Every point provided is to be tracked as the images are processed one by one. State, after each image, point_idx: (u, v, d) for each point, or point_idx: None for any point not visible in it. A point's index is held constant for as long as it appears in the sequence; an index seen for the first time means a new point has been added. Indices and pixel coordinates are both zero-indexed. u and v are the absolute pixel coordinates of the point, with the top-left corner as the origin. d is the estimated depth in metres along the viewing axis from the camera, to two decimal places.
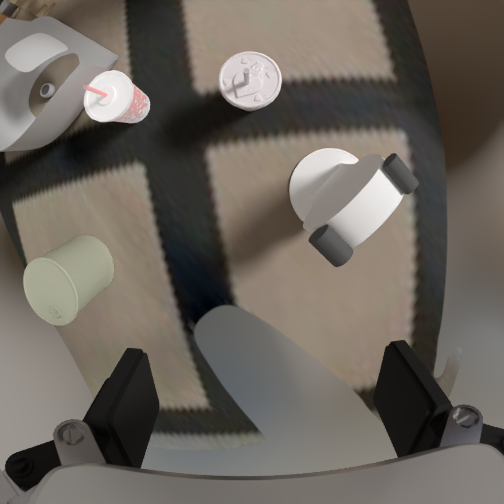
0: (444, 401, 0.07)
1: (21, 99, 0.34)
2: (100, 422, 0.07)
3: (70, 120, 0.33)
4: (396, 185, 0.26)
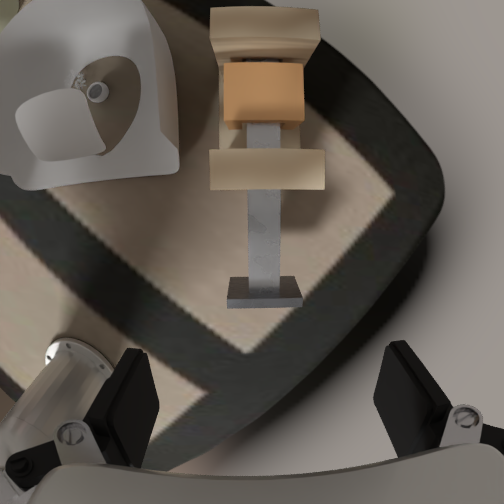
0: (444, 401, 0.07)
1: (144, 53, 0.27)
2: (100, 422, 0.07)
3: (21, 102, 0.24)
4: None
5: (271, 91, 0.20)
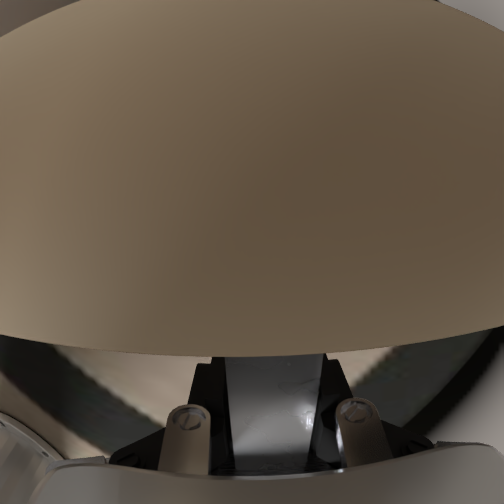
0: (333, 391, 0.08)
1: None
2: (218, 402, 0.08)
3: None
4: None
5: None
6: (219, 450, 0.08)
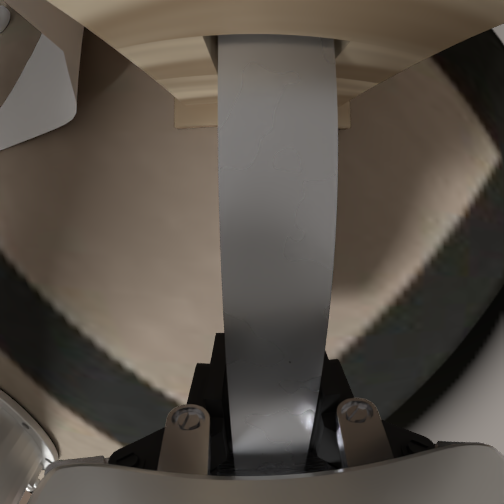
0: (333, 391, 0.08)
1: None
2: (217, 402, 0.08)
3: None
4: None
5: None
6: (218, 450, 0.08)
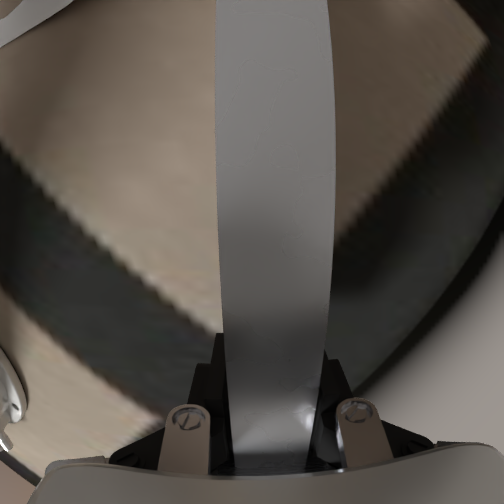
0: (333, 391, 0.08)
1: None
2: (217, 402, 0.08)
3: None
4: None
5: None
6: (219, 450, 0.08)
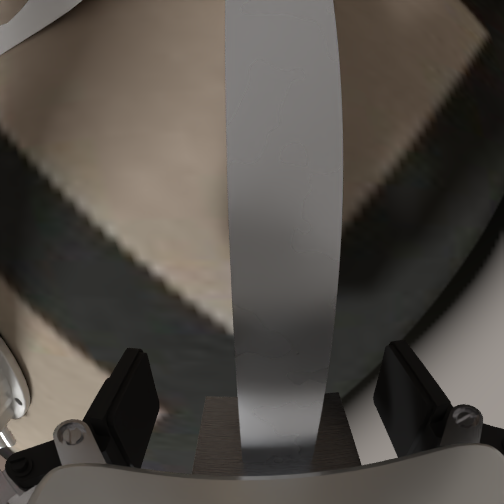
0: (444, 401, 0.07)
1: None
2: (100, 422, 0.07)
3: None
4: None
5: None
6: None
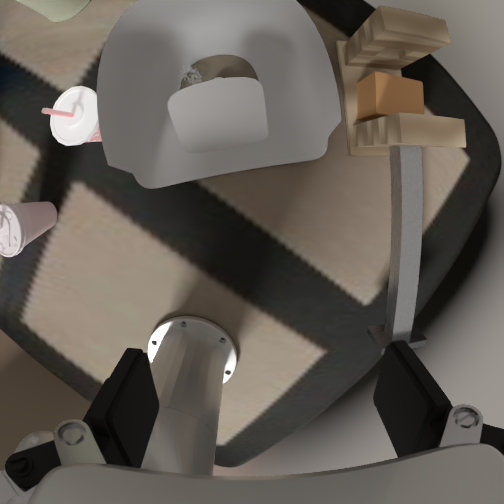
0: (444, 401, 0.07)
1: (258, 51, 0.30)
2: (100, 422, 0.07)
3: (130, 98, 0.28)
4: None
5: (405, 98, 0.26)
6: None
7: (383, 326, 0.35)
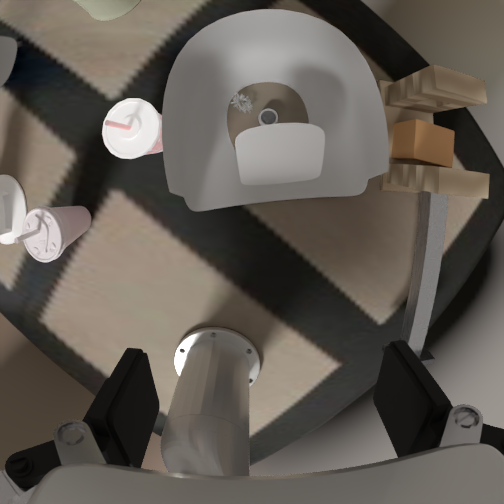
0: (444, 401, 0.07)
1: (306, 85, 0.33)
2: (100, 422, 0.07)
3: (183, 120, 0.31)
4: None
5: (438, 145, 0.29)
6: None
7: None
